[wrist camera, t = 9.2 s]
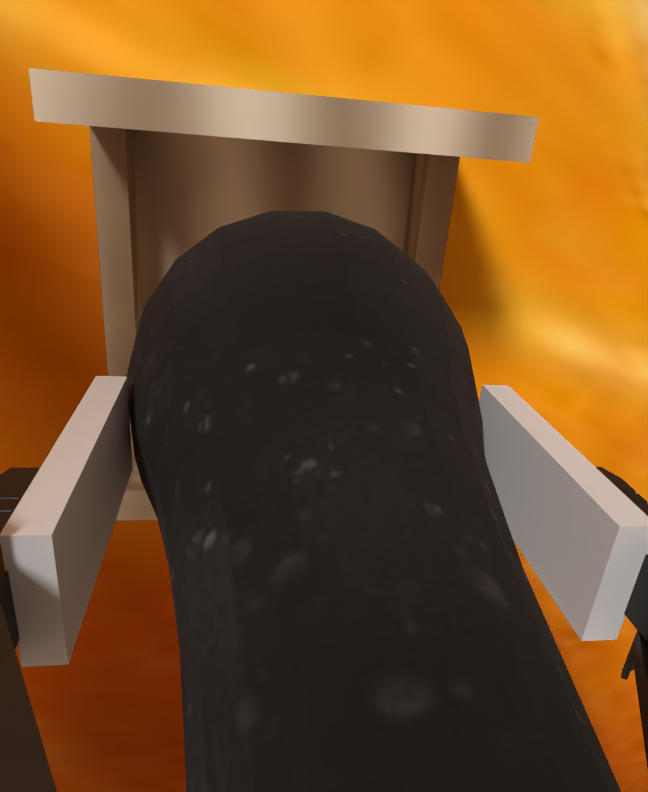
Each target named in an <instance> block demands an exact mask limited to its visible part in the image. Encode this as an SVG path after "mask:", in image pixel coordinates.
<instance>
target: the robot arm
mask: <svg viewBox="0 0 648 792" xmlns="http://www.w3.org/2000/svg"><path fill="white" fill-rule="evenodd" d="M479 406H480V411H481V416H482V422H483V440H484V454H485V459H486V463H487V466H488V469H489V472H490V474H491V477H492V480H493V483H494V486H495V489H496V492H497V495H498V498H499V501H500V503H501V506H502V509H503V512H504V515H505V518H506V521H507V524H508V527H509V530H510V532H511V535H512V538H513V540H514V542H515V543H516V545H517V546H518V548H519V549H520V550H521V552H522V553H523V555H524V556H525V558H526V559H527V561H528V562H529V564H530V565H531V567H532V568H533V570H534V571H535V573H536V574H537V576H538V577H539V579H540V580H541V582H542V583H543V585H544V586H545V588H546V589H547V591H548V592H549V594H550V595H551V597H552V598H553V600H554V601H555V603H556V604H557V606H558V607H559V609H560V610H561V611H562V613H563V614H564V616H565V617H566V619H567V620H568V622H569V623H570V625H571V626H572V628H573V629H574V631H575V632H576V634H577V635H578V637H579V638H580V640H581V641H594V640H616V639H617V637H618V634H619V632H620V629H621V626H622V623H623V621H624V618H625V615H626V616H627V618H628V619H629V620H630V621H631V623H632V624H633V625H634V626H635V628H636V629H637V633H636V635H635V638H634V641H633V643H632V646H631V649H630V651H629V654H628V656H627V659H626V662H625V664H624V667H623V670H622V674H621V678H623V679H626V680H627V678H628V676H629V673H630V671H632V670H634V669H635V677H636V684H637V692H638V699H639V707H640V714H641V722H642V729H643V737H644V744H645V752H646V759H647V767H648V504H647V501H646V500H645V499H644V498H642V497H641V496H640V495H639V494H636V493H635V490H634V489H632V488H631V487H630V486H629V485H628V484H627V483H626V482H625V481H624V480H623V479H621V478H620V477H618V476H616V475H614V474H613V473H611V472H609V471H607V470H605V469H604V468H602V467H595V466H594V465H593V464H591V463H590V462H589V461H588V460H587V459H586V458H585V457H584V456H583V455H582V454H581V453H580V452H579V451H578V450H577V449H575V448H574V447H573V446H572V445H571V444H570V443H569V442H568V441H567V440H566V439H565V438H564V437H563V436H562V435H560V434H559V433H558V432H557V431H556V430H555V429H554V428H553V427H552V426H551V425H550V424H549V423H548V422H547V421H546V420H544V419H543V418H542V417H541V416H540V415H539V414H538V413H537V412H536V411H535V410H534V409H533V408H532V407H531V406H530V405H528V404H527V403H526V402H525V401H524V400H523V399H522V398H521V397H520V396H519V395H518V394H517V393H516V392H515V391H513V390H512V389H511V388H510V387H509V386H508V385H483V386H482V391H481V396H480V401H479ZM132 469H133V466H132V449H131V433H130V416H129V400H128V383H127V377H125V376H96V377H95V379H94V380H93V382H92V383H91V385H90V387H89V388H88V390H87V392H86V393H85V395H84V397H83V398H82V400H81V402H80V403H79V405H78V407H77V408H76V410H75V411H74V413H73V415H72V416H71V418H70V420H69V421H68V423H67V425H66V426H65V428H64V430H63V431H62V433H61V435H60V436H59V438H58V439H57V441H56V443H55V444H54V446H53V448H52V449H51V451H50V453H49V454H48V456H47V458H46V459H45V461H44V463H43V464H42V466H41V467H40V468H10V469H9V470H7V471H5V472H4V473H2V474H1V475H0V792H57V791H56V788H55V784H54V781H53V777H52V774H51V771H50V767H49V764H48V761H47V757H46V754H45V750H44V747H43V744H42V740H41V737H40V734H39V730H38V727H37V723H36V720H35V717H34V713H33V710H32V707H31V703H30V700H29V696H28V693H27V690H26V686H25V683H24V680H23V676H22V673H21V669H20V666H19V663H18V659H17V656H16V652H15V648H16V646H17V644H18V648H19V653H20V659H21V665H22V667H28V666H50V665H69V662H70V659H71V656H72V653H73V650H74V647H75V643H76V640H77V637H78V634H79V631H80V628H81V625H82V622H83V619H84V616H85V613H86V610H87V607H88V604H89V601H90V598H91V595H92V592H93V588H94V585H95V582H96V579H97V576H98V573H99V570H100V567H101V564H102V561H103V558H104V555H105V552H106V549H107V546H108V543H109V540H110V537H111V533H112V530H113V527H114V524H115V521H116V518H117V515H118V512H119V509H120V506H121V503H122V500H123V497H124V494H125V491H126V488H127V485H128V482H129V479H130V475H131V472H132Z"/></svg>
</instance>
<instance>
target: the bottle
mask: <svg viewBox="0 0 648 792" xmlns="http://www.w3.org/2000/svg"><path fill="white" fill-rule="evenodd" d="M127 383H128V400H129V416H130V425H131V433H132V441H133V450H134V456H135V460H136V464H137V467H138V471H139V475H140V478H141V482H142V484H143V486H144V489H145V491H146V493H147V496H148V498H149V500H150V502H151V505H152V507H153V509H154V512H155V514H156V516H157V519H158V522H159V526H160V530H161V534H162V538H163V543H164V547H165V551H166V555H167V559H168V563H169V570H170V577H171V585H172V593H173V601H174V608H175V616H176V624H177V632H178V639H179V647H180V661H181V682H182V703H183V725H184V746H185V768H186V789H187V792H621V791H620V788H619V786H618V784H617V782H616V779H615V777H614V775H613V772H612V770H611V768H610V766H609V763H608V761H607V759H606V756H605V754H604V752H603V750H602V747H601V745H600V743H599V740H598V738H597V736H596V734H595V731H594V729H593V727H592V725H591V722H590V720H589V718H588V715H587V713H586V711H585V709H584V706H583V704H582V702H581V699H580V697H579V695H578V693H577V690H576V688H575V686H574V683H573V681H572V679H571V677H570V674H569V672H568V670H567V668H566V665H565V663H564V661H563V658H562V656H561V654H560V652H559V649H558V647H557V645H556V642H555V640H554V638H553V636H552V633H551V631H550V629H549V626H548V624H547V622H546V620H545V617H544V615H543V613H542V610H541V608H540V606H539V604H538V601H537V599H536V597H535V595H534V592H533V590H532V588H531V585H530V583H529V581H528V579H527V576H526V574H525V572H524V569H523V567H522V564H521V561H520V559H519V556H518V553H517V550H516V547H515V544H514V541H513V538H512V535H511V532H510V530H509V527H508V524H507V521H506V518H505V515H504V512H503V509H502V506H501V503H500V501H499V498H498V495H497V492H496V489H495V486H494V483H493V480H492V477H491V474H490V472H489V469H488V466H487V463H486V459H485V454H484V440H483V422H482V416H481V411H480V406H479V400H478V395H477V390H476V385H475V380H474V375H473V370H472V365H471V360H470V355H469V350H468V346H467V343H466V340H465V337H464V335H463V332H462V329H461V326H460V324H459V323H458V321H457V319H456V318H455V316H454V314H453V313H452V311H451V310H450V308H449V306H448V305H447V303H446V301H445V300H444V298H443V296H442V295H441V293H440V291H439V290H438V288H437V286H436V285H435V283H434V281H433V280H432V279H431V278H430V276H429V275H428V274H427V272H426V271H425V270H424V269H423V268H422V267H421V266H420V265H418V264H417V263H416V262H415V261H414V260H412V259H411V258H410V257H409V256H408V255H406V254H405V253H404V252H403V251H401V250H400V249H399V248H398V247H397V246H395V245H394V244H393V243H392V242H390V241H389V240H388V239H387V238H385V237H384V236H383V235H382V234H381V233H379V232H378V231H377V230H376V229H373V228H370V227H368V226H365V225H362V224H359V223H356V222H354V221H351V220H348V219H345V218H343V217H340V216H337V215H334V214H332V213H329V212H326V211H268V212H265V213H262V214H259V215H256V216H253V217H250V218H246V219H243V220H240V221H237V222H234V223H231V224H228V225H225V226H222V227H219V228H217V229H216V230H215V231H213V232H212V233H211V234H209V235H208V236H207V237H205V238H204V239H203V240H201V241H200V242H199V243H197V244H196V245H195V246H193V247H192V248H191V249H189V250H188V251H187V252H185V253H184V254H183V255H181V256H180V257H179V258H177V259H176V260H175V261H174V263H173V264H172V266H171V267H170V269H169V270H168V272H167V273H166V275H165V276H164V278H163V279H162V281H161V282H160V283H159V285H158V286H157V288H156V289H155V291H154V292H153V294H152V295H151V297H150V298H149V300H148V301H147V303H146V305H145V307H144V310H143V312H142V314H141V318H140V322H139V326H138V330H137V334H136V338H135V342H134V346H133V350H132V354H131V358H130V362H129V367H128V372H127Z"/></svg>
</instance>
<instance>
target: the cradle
mask: <svg viewBox="0 0 648 792" xmlns="http://www.w3.org/2000/svg"><path fill="white" fill-rule="evenodd" d="M29 74H30V83H31V93H32V102H33V111H34V120H35V121H39V122H51V123H63V124H74V125H86V126H89V129H90V142H91V155H92V169H93V182H94V195H95V209H96V222H97V236H98V249H99V262H100V276H101V289H102V302H103V316H104V329H105V342H106V356H107V369H108V376H125V377H127V372H128V367H129V362H130V358H131V354H132V350H133V346H134V342H135V338H136V334H137V330H138V326H139V322H140V318H141V314H142V312H143V310H144V307H145V305H146V303H147V301H148V300H149V298H150V297H151V295H152V294H153V292H154V291H155V289H156V288H157V286H158V285H159V283H160V282H161V281H162V279H163V278H164V276H165V275H166V273H167V272H168V270H169V269H170V267H171V266H172V264H173V263H174V261H175V260H176V259H177V258H179V257H180V256H181V255H183V254H184V253H185V252H187V251H188V250H189V249H191V248H192V247H193V246H195V245H196V244H197V243H199V242H200V241H201V240H203V239H204V238H205V237H207V236H208V235H209V234H211V233H212V232H213V231H215V230H216V229H217V228H219V227H222V226H225V225H228V224H231V223H234V222H237V221H240V220H243V219H246V218H250V217H253V216H256V215H259V214H262V213H265V212H268V211H326V212H329V213H332V214H334V215H337V216H340V217H343V218H345V219H348V220H351V221H354V222H356V223H359V224H362V225H365V226H368V227H370V228H373V229H376V230H377V231H378V232H379V233H381V234H382V235H383V236H384V237H385V238H387V239H388V240H389V241H390V242H392V243H393V244H394V245H395V246H397V247H398V248H399V249H400V250H401V251H403V252H404V253H405V254H406V255H408V256H409V257H410V258H411V259H412V260H414V261H415V262H416V263H417V264H418V265H420V266H421V267H422V268H423V269H424V270H425V271H426V272H427V274H428V275H429V276H430V278H431V279H432V280H433V281H434V283H435V285H436V286H437V288H438V290H439V285H440V279H441V273H442V266H443V260H444V253H445V247H446V241H447V234H448V228H449V222H450V215H451V209H452V203H453V196H454V190H455V184H456V177H457V171H458V165H459V158H460V157H469V158H481V159H493V160H505V161H517V162H529V163H530V159H531V154H532V149H533V144H534V139H535V134H536V129H537V124H538V119H539V117H531V116H521V115H511V114H500V113H490V112H480V111H469V110H459V109H448V108H438V107H428V106H417V105H407V104H397V103H386V102H376V101H365V100H355V99H345V98H334V97H324V96H314V95H303V94H293V93H282V92H272V91H262V90H251V89H241V88H231V87H220V86H210V85H199V84H189V83H179V82H168V81H158V80H147V79H137V78H127V77H116V76H106V75H96V74H85V73H75V72H64V71H54V70H44V69H33V68H29ZM130 433H131V425H130ZM131 449H132V466H133V469H132V472H131V475H130V479H129V482H128V485H127V488H126V491H125V494H124V497H123V500H122V503H121V506H120V509H119V512H118V515H117V518H116V521H136V520H158V519H157V516H156V514H155V512H154V509H153V507H152V505H151V502H150V500H149V498H148V496H147V493H146V491H145V489H144V486H143V484H142V482H141V478H140V475H139V471H138V467H137V464H136V460H135V456H134V450H133V441H132V433H131Z"/></svg>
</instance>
